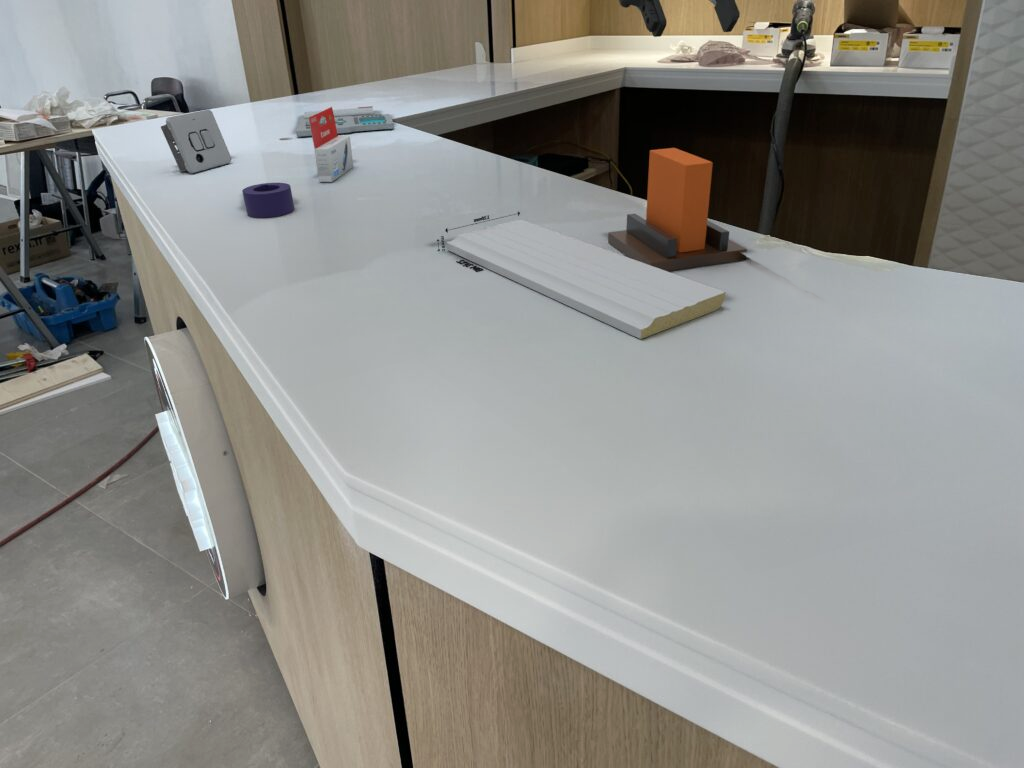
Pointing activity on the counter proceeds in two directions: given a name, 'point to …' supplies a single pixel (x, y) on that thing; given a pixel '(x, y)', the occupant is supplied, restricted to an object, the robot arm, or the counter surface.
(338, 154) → the ink cartridge box
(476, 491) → the counter surface
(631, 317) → the baseboard molding
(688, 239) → the orange rectangular block
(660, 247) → the brown slotted base
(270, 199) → the purple donut ring
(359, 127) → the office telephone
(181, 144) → the electrical switch
